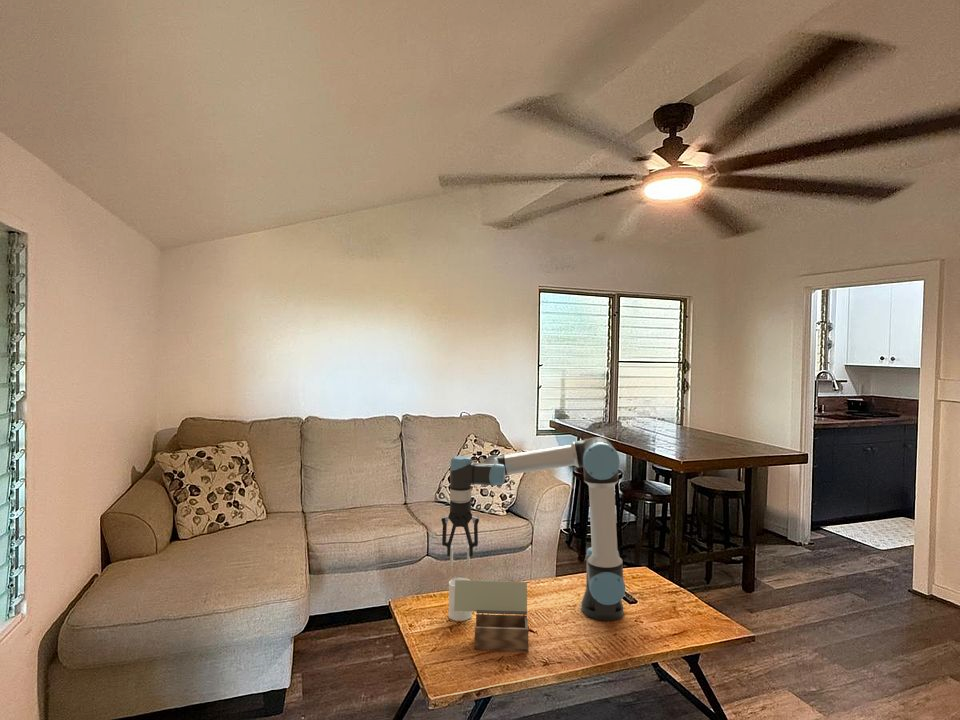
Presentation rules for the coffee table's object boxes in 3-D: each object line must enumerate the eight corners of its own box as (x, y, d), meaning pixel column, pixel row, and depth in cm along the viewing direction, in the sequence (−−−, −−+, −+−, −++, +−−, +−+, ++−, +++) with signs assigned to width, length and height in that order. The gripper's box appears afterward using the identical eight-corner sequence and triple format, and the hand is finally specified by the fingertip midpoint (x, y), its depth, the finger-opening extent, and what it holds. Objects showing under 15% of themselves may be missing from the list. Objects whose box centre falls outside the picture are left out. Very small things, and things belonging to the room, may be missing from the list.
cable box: (527, 636, 176) (527, 615, 176) (528, 651, 168) (528, 629, 167) (476, 634, 177) (476, 614, 177) (474, 649, 168) (474, 627, 168)
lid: (527, 614, 176) (526, 614, 179) (526, 582, 180) (526, 581, 182) (453, 612, 178) (454, 611, 180) (455, 580, 181) (455, 579, 183)
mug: (475, 624, 184) (475, 590, 184) (450, 626, 182) (451, 592, 182) (469, 608, 196) (470, 576, 196) (446, 610, 194) (447, 578, 194)
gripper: (486, 497, 192) (485, 561, 192) (436, 496, 193) (435, 560, 193) (485, 503, 185) (485, 570, 185) (433, 502, 185) (433, 568, 186)
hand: (459, 565), depth 189 cm, fingers open, 5 cm apart
